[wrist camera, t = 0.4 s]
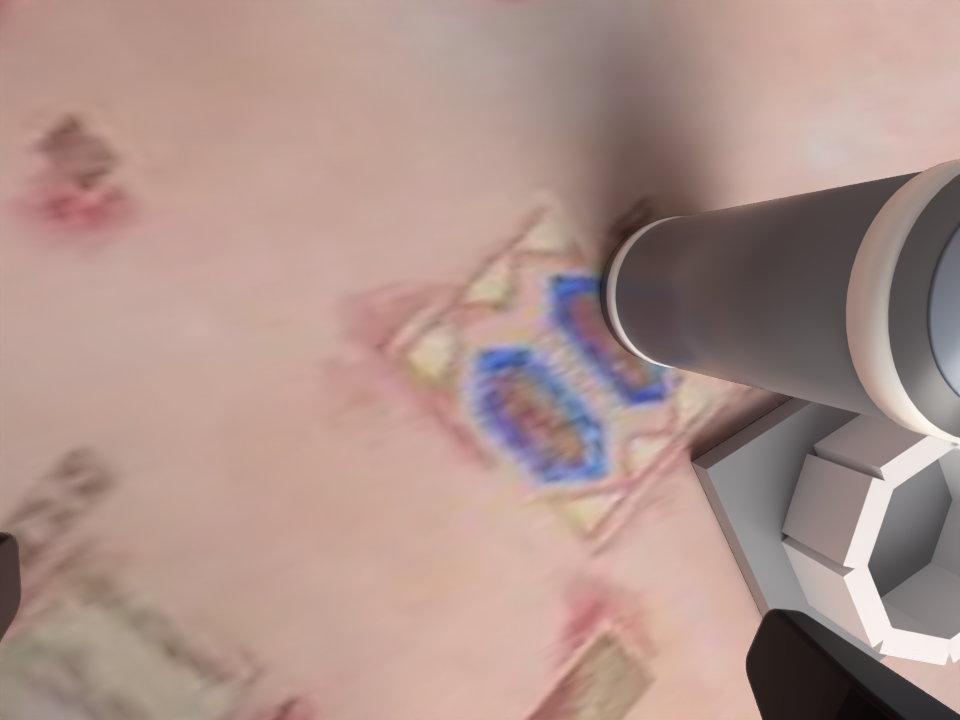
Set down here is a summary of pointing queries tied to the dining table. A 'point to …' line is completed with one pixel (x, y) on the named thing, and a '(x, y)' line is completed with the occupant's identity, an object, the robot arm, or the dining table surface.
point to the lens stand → (845, 525)
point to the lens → (808, 297)
